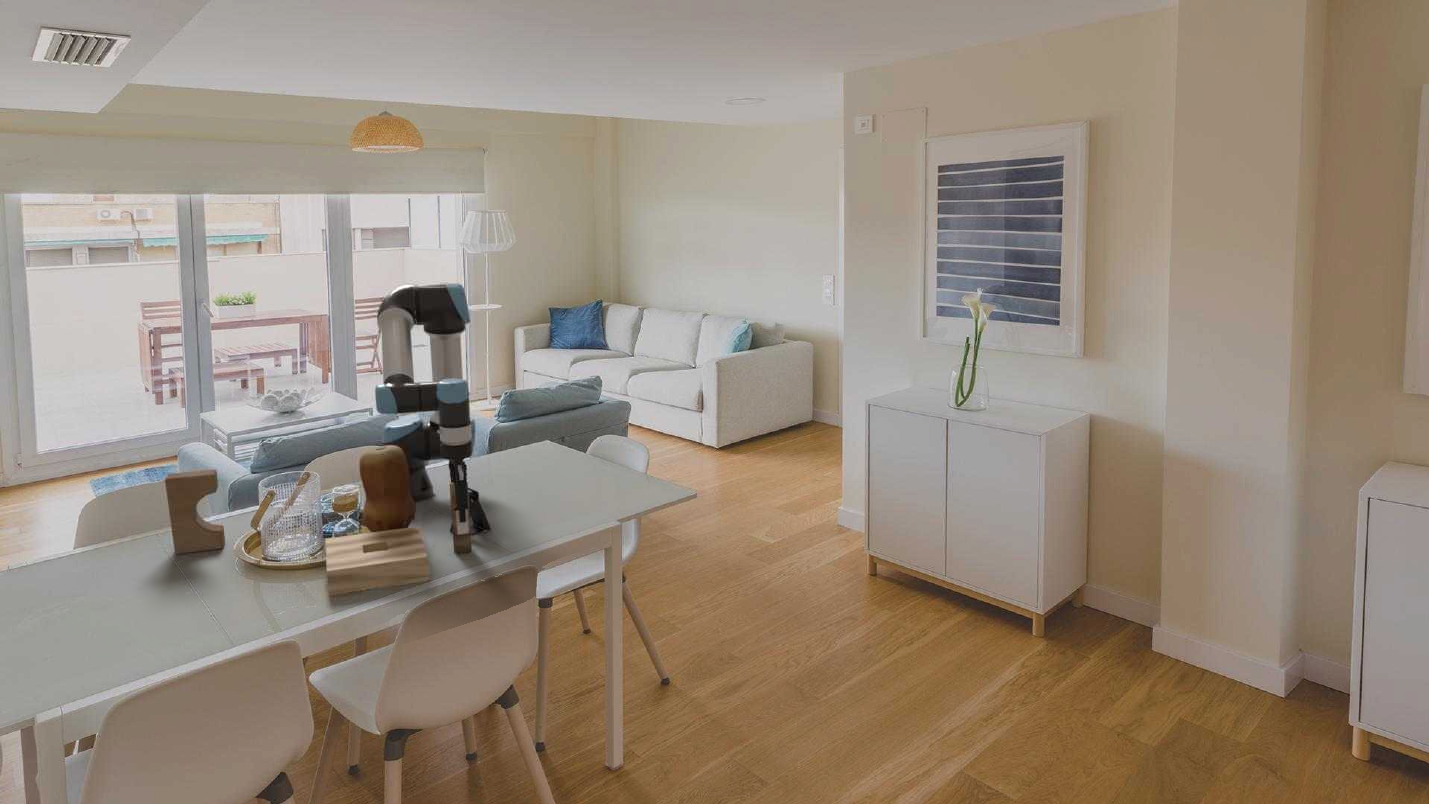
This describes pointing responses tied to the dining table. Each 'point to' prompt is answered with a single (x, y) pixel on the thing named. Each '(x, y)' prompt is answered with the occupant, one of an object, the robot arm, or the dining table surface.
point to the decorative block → (192, 511)
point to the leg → (462, 540)
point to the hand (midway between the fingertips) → (461, 529)
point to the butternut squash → (386, 489)
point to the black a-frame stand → (476, 514)
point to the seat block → (375, 560)
